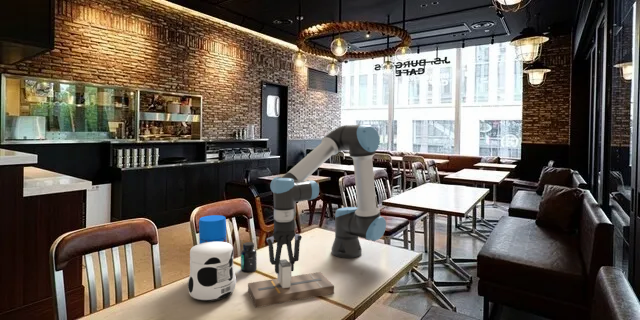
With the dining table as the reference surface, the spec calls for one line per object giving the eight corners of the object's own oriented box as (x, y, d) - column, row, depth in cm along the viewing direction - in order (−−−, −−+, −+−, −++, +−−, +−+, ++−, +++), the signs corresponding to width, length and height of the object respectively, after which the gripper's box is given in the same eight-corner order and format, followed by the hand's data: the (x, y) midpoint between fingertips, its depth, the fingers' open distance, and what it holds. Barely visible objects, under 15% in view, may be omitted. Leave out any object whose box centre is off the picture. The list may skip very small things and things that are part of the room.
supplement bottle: (241, 274, 153) (240, 246, 152) (240, 268, 159) (240, 241, 158) (257, 272, 154) (257, 245, 153) (255, 266, 161) (255, 240, 160)
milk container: (198, 283, 143) (197, 240, 141) (241, 284, 142) (240, 240, 141) (180, 305, 125) (178, 255, 124) (228, 306, 125) (227, 256, 123)
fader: (286, 280, 138) (286, 259, 137) (290, 287, 132) (290, 264, 132) (278, 281, 137) (278, 260, 136) (282, 288, 131) (282, 265, 131)
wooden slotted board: (320, 278, 148) (320, 271, 148) (333, 293, 135) (334, 285, 135) (248, 290, 137) (248, 282, 137) (255, 307, 124) (255, 299, 124)
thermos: (219, 282, 144) (218, 222, 142) (195, 280, 146) (193, 220, 144) (231, 272, 155) (230, 215, 152) (208, 270, 157) (207, 214, 155)
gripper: (264, 224, 126) (265, 287, 128) (308, 220, 132) (307, 280, 134) (260, 219, 133) (260, 279, 135) (301, 215, 139) (301, 273, 141)
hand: (284, 280), depth 135 cm, fingers closed on fader, 3 cm apart
